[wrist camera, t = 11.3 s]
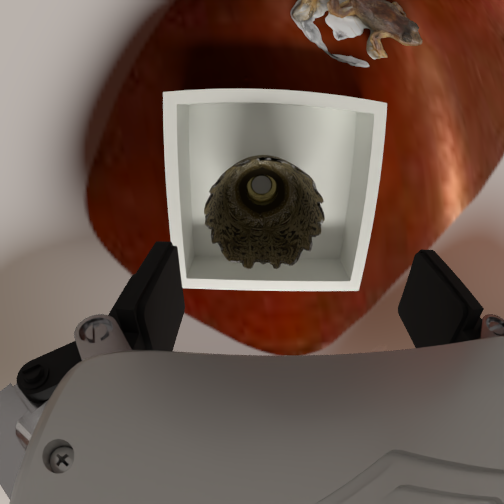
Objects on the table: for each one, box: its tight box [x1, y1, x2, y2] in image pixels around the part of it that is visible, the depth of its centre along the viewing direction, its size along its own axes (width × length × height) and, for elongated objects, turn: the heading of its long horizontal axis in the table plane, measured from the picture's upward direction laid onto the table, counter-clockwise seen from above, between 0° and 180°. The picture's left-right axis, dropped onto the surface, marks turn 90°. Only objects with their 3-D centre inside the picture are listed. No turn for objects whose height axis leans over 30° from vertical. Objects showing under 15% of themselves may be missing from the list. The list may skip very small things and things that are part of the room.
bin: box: [163, 89, 387, 291], centre depth 24 cm, size 16×16×5 cm
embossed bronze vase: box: [204, 155, 325, 269], centre depth 22 cm, size 8×7×8 cm
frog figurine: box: [291, 0, 422, 67], centre depth 17 cm, size 12×12×4 cm
